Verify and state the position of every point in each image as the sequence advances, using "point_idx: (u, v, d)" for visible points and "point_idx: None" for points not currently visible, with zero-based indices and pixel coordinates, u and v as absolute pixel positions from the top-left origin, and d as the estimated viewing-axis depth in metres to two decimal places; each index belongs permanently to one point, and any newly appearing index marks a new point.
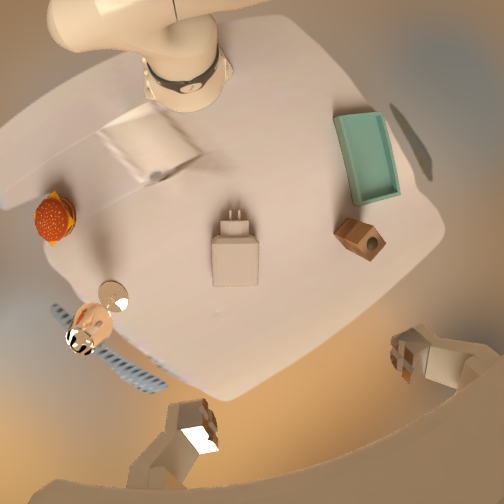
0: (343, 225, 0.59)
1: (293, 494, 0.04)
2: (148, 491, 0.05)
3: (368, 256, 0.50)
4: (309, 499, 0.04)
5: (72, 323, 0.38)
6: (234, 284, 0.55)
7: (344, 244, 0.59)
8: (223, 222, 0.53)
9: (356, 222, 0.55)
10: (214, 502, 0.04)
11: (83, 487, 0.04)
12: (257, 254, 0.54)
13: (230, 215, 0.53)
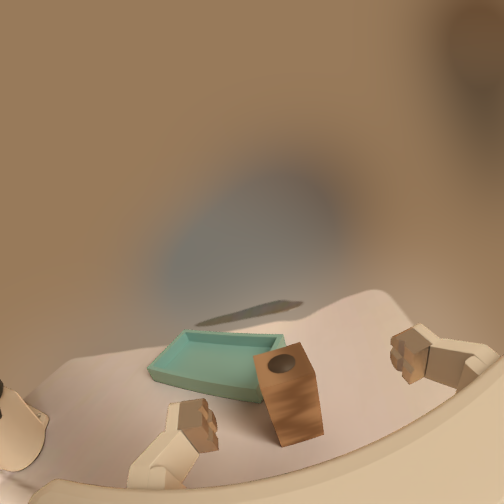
0: None
1: (293, 494, 0.04)
2: (148, 491, 0.05)
3: (301, 374, 0.22)
4: (309, 499, 0.04)
5: None
6: None
7: (305, 432, 0.25)
8: None
9: None
10: (214, 502, 0.04)
11: (83, 487, 0.04)
12: None
13: None
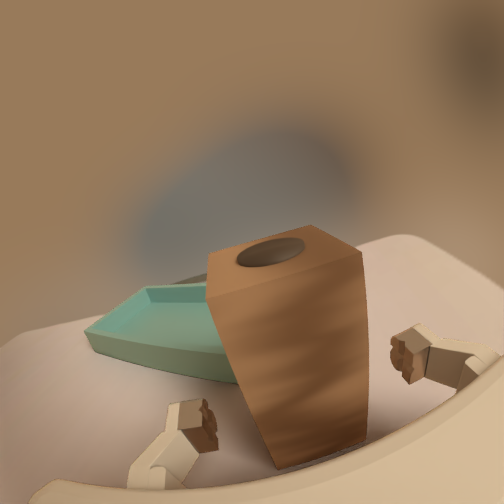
0: None
1: (293, 494, 0.04)
2: (148, 491, 0.05)
3: (324, 259, 0.08)
4: (309, 499, 0.04)
5: None
6: None
7: (330, 438, 0.11)
8: None
9: None
10: (214, 502, 0.04)
11: (82, 488, 0.04)
12: None
13: None
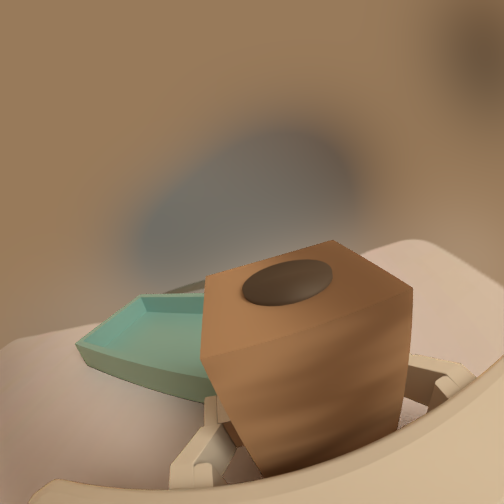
0: None
1: (293, 494, 0.04)
2: (148, 491, 0.05)
3: (365, 299, 0.06)
4: (309, 499, 0.04)
5: None
6: None
7: None
8: None
9: None
10: (214, 502, 0.04)
11: (83, 487, 0.04)
12: None
13: None
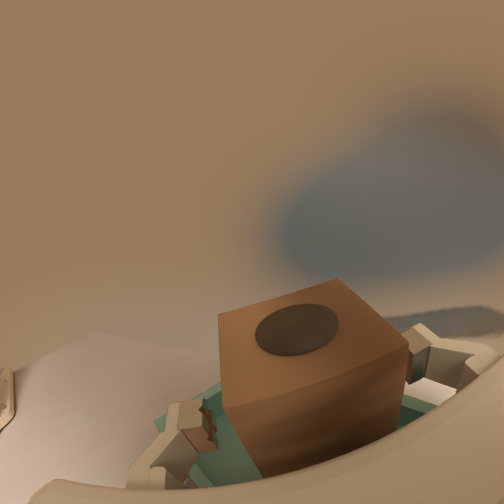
0: None
1: (293, 494, 0.04)
2: (148, 491, 0.05)
3: (366, 353, 0.06)
4: (309, 499, 0.04)
5: None
6: None
7: None
8: None
9: None
10: (214, 502, 0.04)
11: (82, 487, 0.04)
12: None
13: None
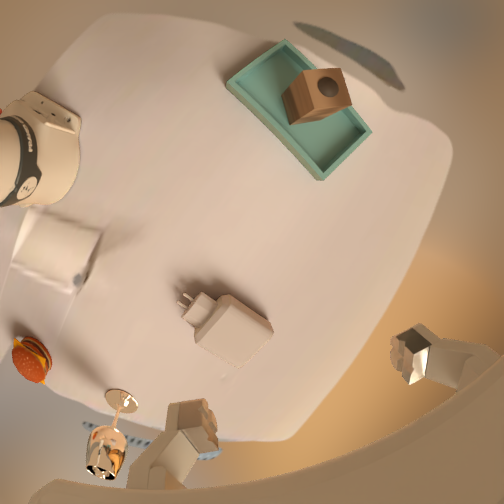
0: (286, 106, 0.36)
1: (293, 494, 0.04)
2: (148, 491, 0.05)
3: (342, 103, 0.27)
4: (309, 499, 0.04)
5: (86, 459, 0.30)
6: (252, 353, 0.43)
7: (311, 120, 0.36)
8: (184, 317, 0.42)
9: (289, 88, 0.32)
10: (214, 502, 0.04)
11: (82, 487, 0.04)
12: (241, 314, 0.41)
13: (182, 305, 0.41)
